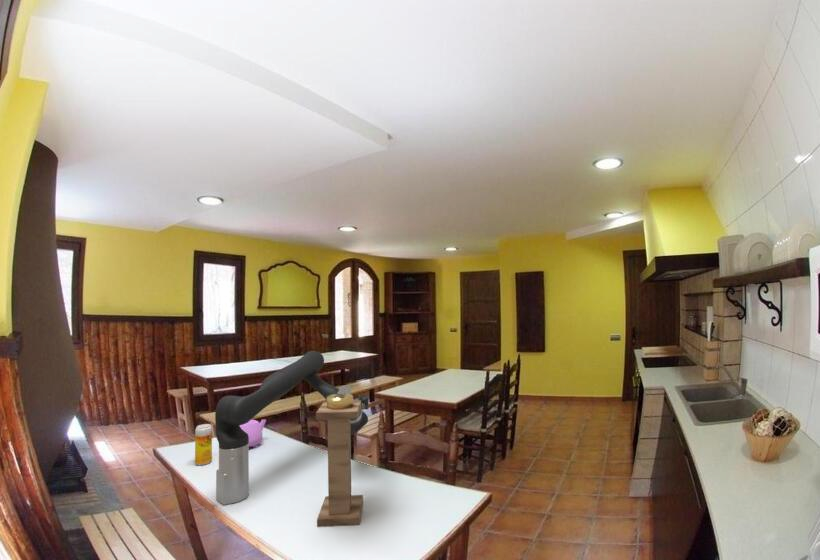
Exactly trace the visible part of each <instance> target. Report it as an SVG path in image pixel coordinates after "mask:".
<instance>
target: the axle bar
mask: <svg viewBox="0 0 820 560" xmlns="http://www.w3.org/2000/svg"><path fill="white" fill-rule="evenodd" d="M351 386H352V385H350V384H349V385H341V387H340V388H339V391H338V393H337V394H333V395H329V396H327V400H326V402H327V408H328V409H332V410H341V409H347V408H351V407H352V406H353V399H354V395H353V394H352V388H351Z"/></svg>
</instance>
